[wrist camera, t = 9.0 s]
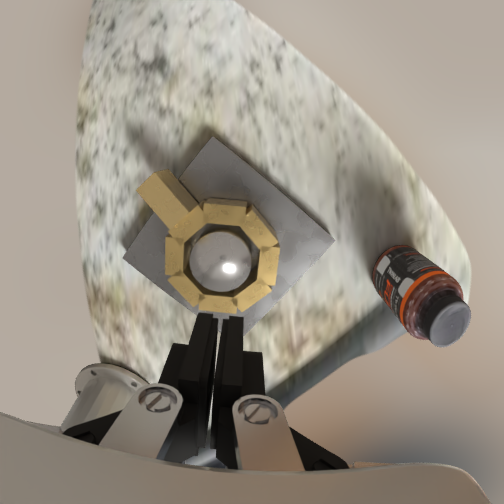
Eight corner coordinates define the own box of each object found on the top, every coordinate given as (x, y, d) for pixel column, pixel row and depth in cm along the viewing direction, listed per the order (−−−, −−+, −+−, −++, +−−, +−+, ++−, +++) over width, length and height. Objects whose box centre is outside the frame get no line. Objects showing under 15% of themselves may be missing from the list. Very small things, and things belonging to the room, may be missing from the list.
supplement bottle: (360, 265, 30) (408, 321, 19) (407, 232, 29) (471, 272, 18) (384, 307, 32) (430, 370, 21) (427, 276, 30) (486, 327, 20)
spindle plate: (237, 335, 33) (234, 365, 28) (117, 243, 30) (93, 261, 25) (331, 236, 29) (346, 253, 24) (201, 127, 26) (190, 121, 21)
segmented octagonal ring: (296, 257, 28) (302, 273, 24) (219, 314, 30) (215, 336, 26) (199, 141, 25) (189, 139, 21) (125, 210, 27) (107, 220, 23)
